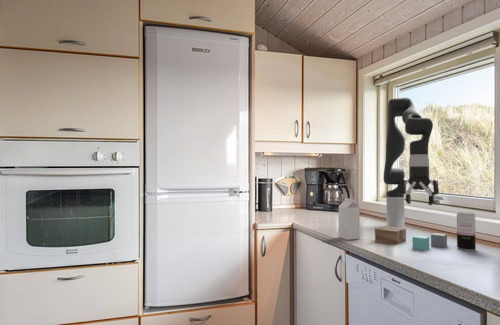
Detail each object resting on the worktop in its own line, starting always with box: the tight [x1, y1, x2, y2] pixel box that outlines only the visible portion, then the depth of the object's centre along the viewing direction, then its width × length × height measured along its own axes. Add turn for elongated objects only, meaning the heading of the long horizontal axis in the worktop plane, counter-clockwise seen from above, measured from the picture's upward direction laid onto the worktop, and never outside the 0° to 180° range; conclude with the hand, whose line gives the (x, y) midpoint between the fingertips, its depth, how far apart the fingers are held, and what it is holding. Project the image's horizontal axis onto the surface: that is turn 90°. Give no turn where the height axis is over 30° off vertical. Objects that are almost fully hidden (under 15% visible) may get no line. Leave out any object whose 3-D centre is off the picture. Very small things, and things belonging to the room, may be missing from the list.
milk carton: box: [338, 197, 361, 241], centre depth 167 cm, size 7×7×19 cm
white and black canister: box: [456, 211, 477, 252], centre depth 145 cm, size 7×6×15 cm
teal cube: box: [411, 235, 430, 252], centre depth 146 cm, size 5×5×5 cm
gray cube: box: [430, 232, 448, 248], centre depth 151 cm, size 5×5×5 cm
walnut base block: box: [374, 225, 407, 246], centre depth 161 cm, size 10×10×6 cm
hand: (419, 204), depth 146 cm, fingers open, 8 cm apart
